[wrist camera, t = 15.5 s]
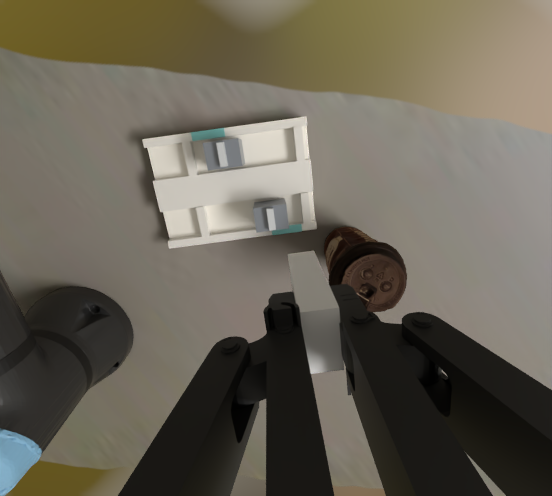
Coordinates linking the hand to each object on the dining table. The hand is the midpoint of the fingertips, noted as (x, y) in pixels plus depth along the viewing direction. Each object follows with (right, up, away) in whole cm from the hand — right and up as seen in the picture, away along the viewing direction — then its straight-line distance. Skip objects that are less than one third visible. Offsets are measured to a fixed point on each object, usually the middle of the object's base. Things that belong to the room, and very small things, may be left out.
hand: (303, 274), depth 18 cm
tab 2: (-2, +6, +24) cm, 25 cm away
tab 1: (-8, +13, +22) cm, 27 cm away
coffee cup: (+8, +2, +28) cm, 29 cm away
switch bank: (-7, +10, +24) cm, 27 cm away
